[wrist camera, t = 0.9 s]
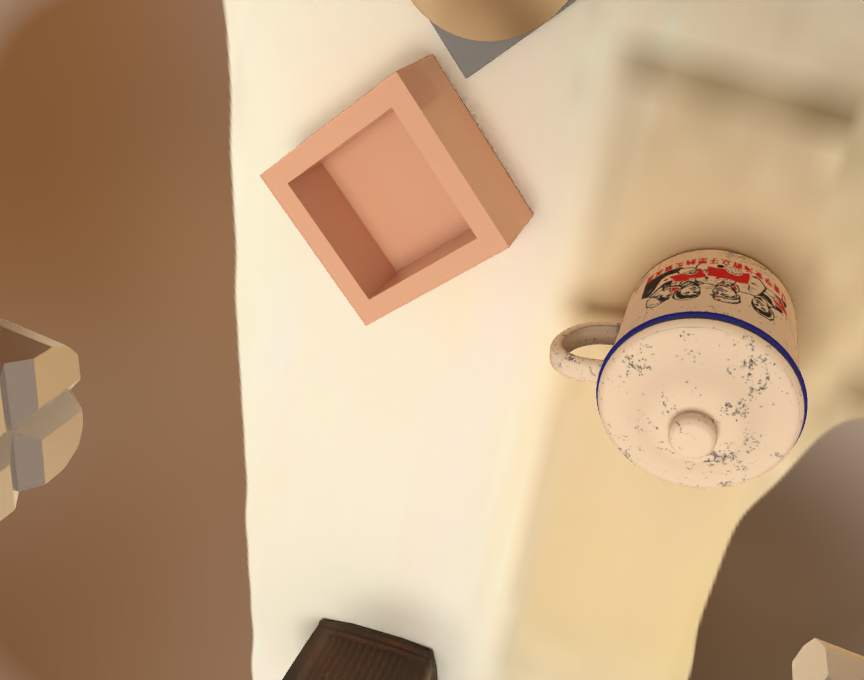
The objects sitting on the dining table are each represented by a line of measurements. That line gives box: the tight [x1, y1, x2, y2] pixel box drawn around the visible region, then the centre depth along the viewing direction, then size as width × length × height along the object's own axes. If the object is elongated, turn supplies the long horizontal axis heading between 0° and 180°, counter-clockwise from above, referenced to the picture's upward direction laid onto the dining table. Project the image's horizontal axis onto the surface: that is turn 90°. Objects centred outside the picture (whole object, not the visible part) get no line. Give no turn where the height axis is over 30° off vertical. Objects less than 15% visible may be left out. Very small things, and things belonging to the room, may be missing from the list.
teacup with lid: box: [550, 250, 807, 488], centre depth 39 cm, size 12×9×12 cm
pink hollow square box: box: [260, 54, 533, 325], centre depth 43 cm, size 10×10×5 cm
